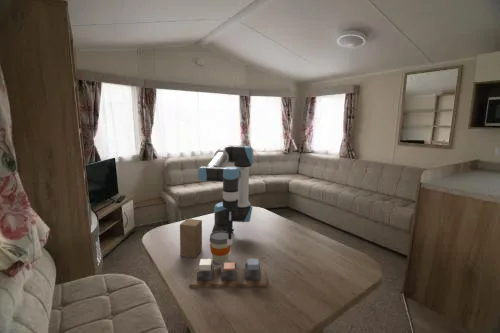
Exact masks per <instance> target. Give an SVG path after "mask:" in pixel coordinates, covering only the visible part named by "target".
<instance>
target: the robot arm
mask: <svg viewBox="0 0 500 333" xmlns="http://www.w3.org/2000/svg"><path fill="white" fill-rule="evenodd" d="M254 161H255V158H254V150H253V147H252V146H251V145H232V144H231V145H230V144H229V145H225V146H222V147H219V148H218V149H217V150H216V151H215V152H214V155H213V157H212V159H211V161H210V162H209V163H208V164H207V165H206V166H200V167H199V168H198V171H197V178H198V180H199V181H201V182H214V183H215V182H216V183H222V192H221V195H222V201H220V202H218V203H216V204H215V205H214V210H213V211H214V223H213V228H212V231H211V233H213V232H215V231H226V233H227V245H233V244H234V243H233V235H234V230H235V229H234V227H233V223H234V222H236V223H249V222H250V221H251V219H252V213H253V212H252V211H253V205H251V202H250V201H249V193H250V192H249V188H250V184H249V183H250V182H249V181H250V168H251V167H252V165H253V164H254V163H255V162H254ZM226 163H228V164H229V163H231V164H233V166H226V167H223V166H224V165H225V164H226Z"/></svg>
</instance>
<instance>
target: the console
mask: <svg viewBox="0 0 500 333" xmlns="http://www.w3.org/2000/svg"><path fill="white" fill-rule="evenodd" d="M224 263H225V262H224ZM224 263H221V268H215V267H214V265H215V262H212V268H211V271H199V264H200V262H199V263H198V266H197V269H196V268H195V269H192V270H193V271H192V274H191V277H190V281H189V288H231V287H232V288H233V287H234V288H235V287H237V288H238V287H239V288H242V287H248V288H249V287H252V288H253V287H268V279H267V274H266V271H265V268H261V266H260V263H259V270H247V262H245V263H244V268H237V266H238V265H237V262H235V271H224Z"/></svg>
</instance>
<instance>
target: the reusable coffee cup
mask: <svg viewBox="0 0 500 333" xmlns="http://www.w3.org/2000/svg"><path fill="white" fill-rule="evenodd" d="M209 242H210V243H209V248H210V253H211V259H212V261H213V263H216V264H222V263H226V262H227V261H228V259H229V254H230V253H231V252H230V251H231V245H227V233H226V231H215V232H213V233H212V232H211V233H210V234H209Z"/></svg>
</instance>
